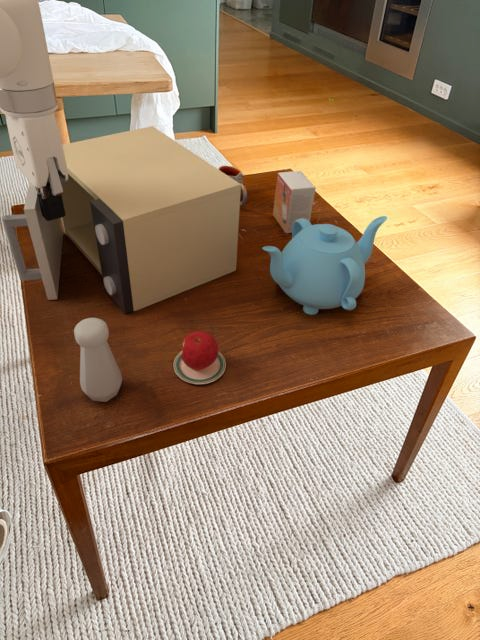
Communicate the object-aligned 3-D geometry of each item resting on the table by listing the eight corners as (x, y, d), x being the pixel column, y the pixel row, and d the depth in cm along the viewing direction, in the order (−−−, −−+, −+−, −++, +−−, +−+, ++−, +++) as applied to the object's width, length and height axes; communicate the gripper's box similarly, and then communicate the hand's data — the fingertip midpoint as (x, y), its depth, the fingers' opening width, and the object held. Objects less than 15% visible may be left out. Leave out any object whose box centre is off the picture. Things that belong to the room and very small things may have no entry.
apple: (191, 394, 72) (190, 363, 68) (164, 361, 77) (161, 330, 73) (235, 372, 76) (237, 341, 72) (207, 341, 81) (207, 311, 76)
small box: (272, 215, 112) (276, 171, 105) (295, 213, 114) (301, 169, 107) (285, 234, 106) (290, 189, 99) (308, 231, 108) (316, 186, 101)
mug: (208, 192, 119) (209, 166, 114) (234, 188, 121) (236, 162, 117) (229, 216, 111) (230, 189, 106) (256, 211, 113) (259, 184, 109)
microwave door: (22, 302, 85) (-7, 210, 74) (33, 235, 101) (11, 150, 89) (57, 299, 86) (34, 208, 75) (63, 233, 102) (45, 149, 90)
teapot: (370, 278, 96) (388, 214, 87) (345, 341, 82) (363, 273, 73) (291, 256, 100) (300, 193, 91) (255, 312, 87) (261, 244, 77)
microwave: (121, 316, 84) (107, 224, 72) (53, 236, 101) (33, 150, 89) (236, 270, 96) (241, 184, 84) (157, 205, 113) (152, 125, 101)
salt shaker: (80, 381, 73) (64, 315, 64) (119, 372, 75) (108, 306, 66) (85, 411, 69) (69, 345, 60) (127, 401, 71) (116, 335, 62)
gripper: (-19, 85, 69) (14, 203, 82) (18, 119, 61) (48, 245, 73) (34, 77, 73) (58, 191, 85) (76, 109, 64) (96, 231, 77)
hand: (54, 216), depth 79 cm, fingers closed
